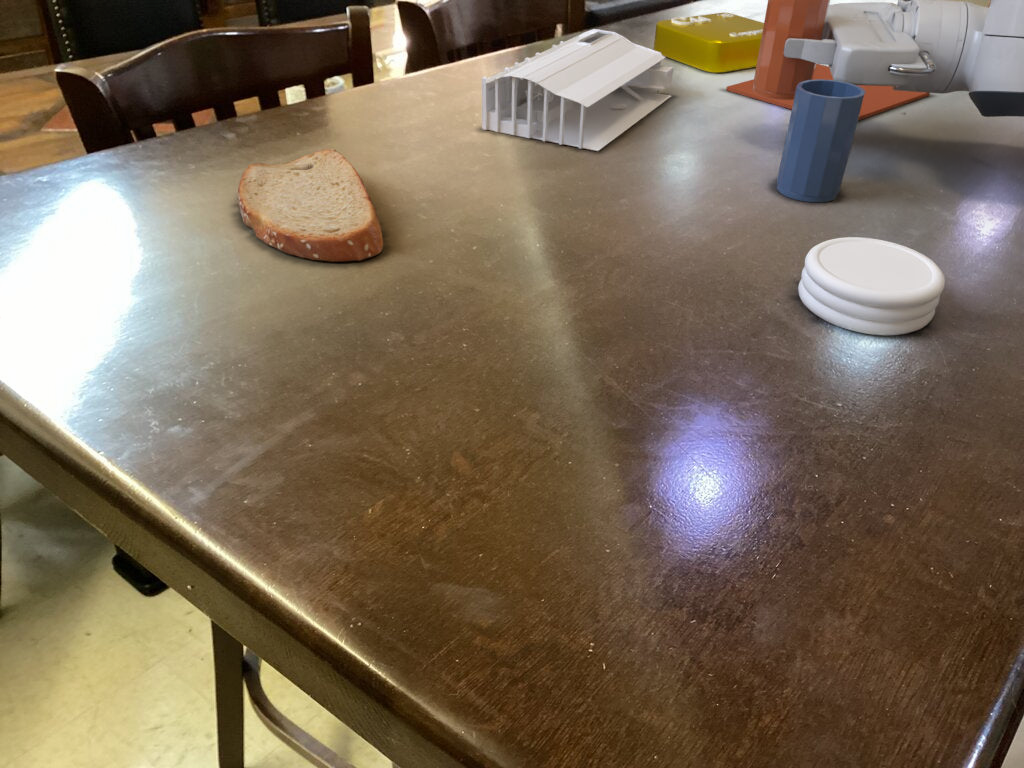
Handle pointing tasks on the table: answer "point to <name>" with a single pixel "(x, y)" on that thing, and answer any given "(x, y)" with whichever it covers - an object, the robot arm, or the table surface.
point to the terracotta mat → (875, 96)
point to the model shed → (577, 91)
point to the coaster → (870, 285)
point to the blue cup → (819, 139)
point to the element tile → (710, 41)
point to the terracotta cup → (790, 12)
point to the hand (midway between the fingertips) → (782, 38)
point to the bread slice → (311, 208)
